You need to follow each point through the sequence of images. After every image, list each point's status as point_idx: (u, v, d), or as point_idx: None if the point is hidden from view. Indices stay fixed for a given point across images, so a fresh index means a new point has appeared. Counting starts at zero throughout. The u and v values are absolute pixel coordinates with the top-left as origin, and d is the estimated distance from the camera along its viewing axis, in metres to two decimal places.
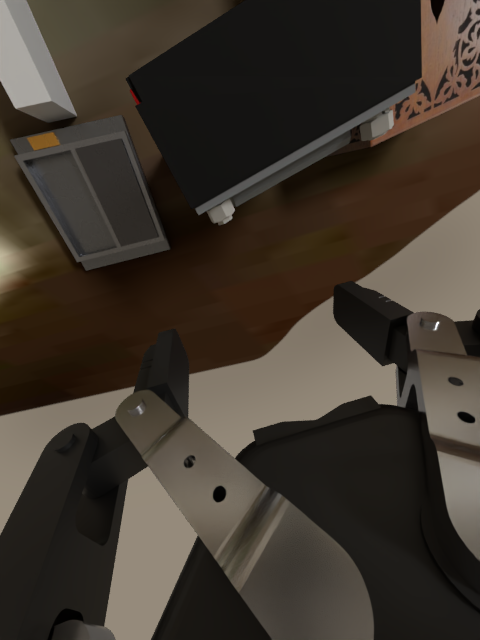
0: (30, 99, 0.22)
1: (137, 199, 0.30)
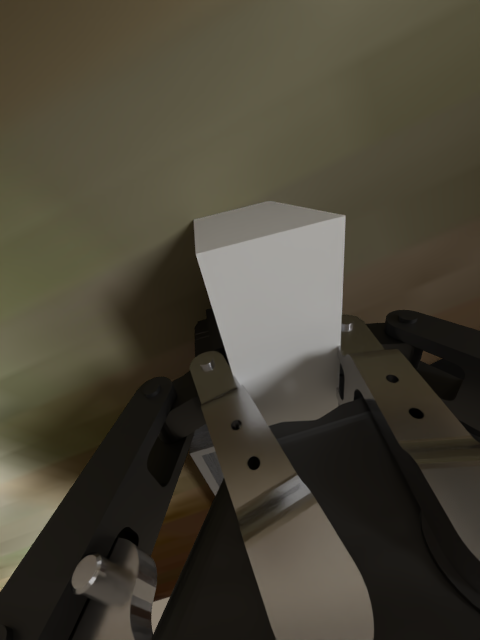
0: None
1: None
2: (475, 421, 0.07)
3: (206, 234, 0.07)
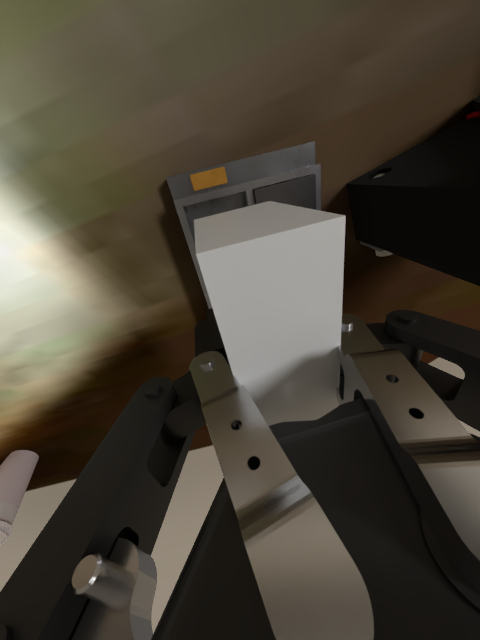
0: None
1: None
2: (475, 421, 0.07)
3: (206, 234, 0.07)
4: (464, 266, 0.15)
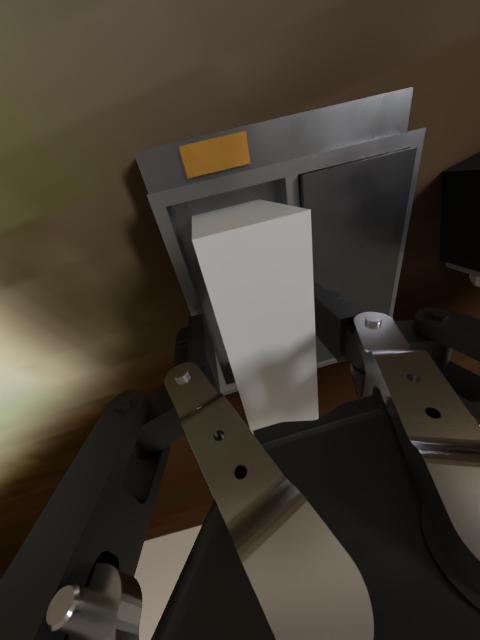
0: None
1: (382, 280, 0.14)
2: None
3: (201, 226, 0.08)
4: None
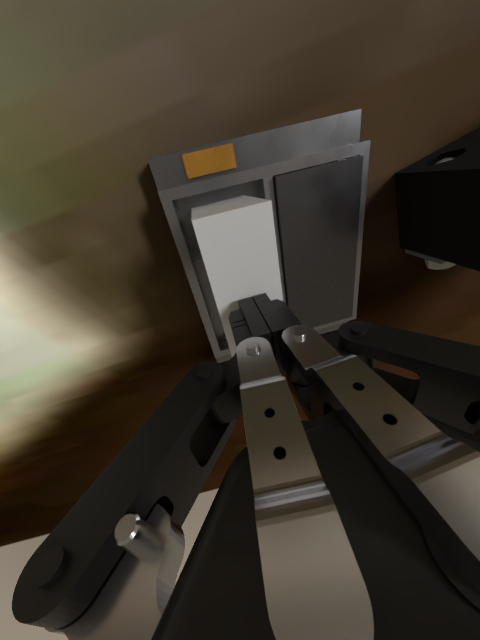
0: None
1: (346, 261, 0.17)
2: None
3: (198, 213, 0.11)
4: None
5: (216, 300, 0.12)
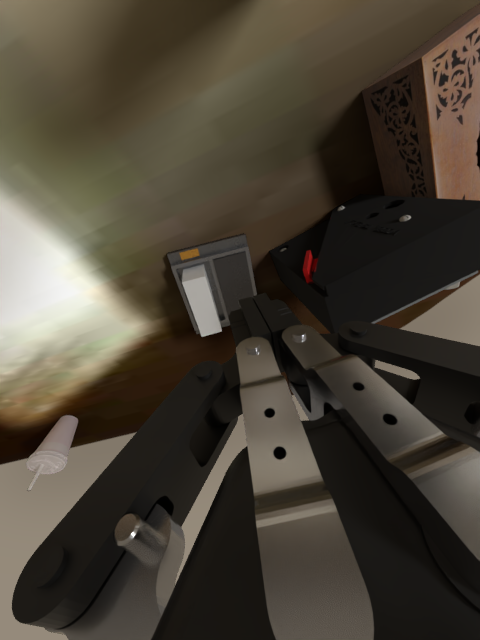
0: (211, 332, 0.38)
1: (247, 288, 0.40)
2: None
3: (184, 277, 0.35)
4: (306, 303, 0.33)
5: (190, 305, 0.35)
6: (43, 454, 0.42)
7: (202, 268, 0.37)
